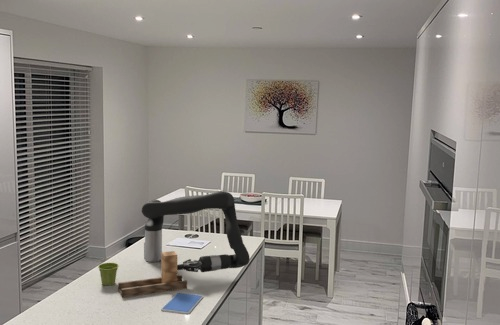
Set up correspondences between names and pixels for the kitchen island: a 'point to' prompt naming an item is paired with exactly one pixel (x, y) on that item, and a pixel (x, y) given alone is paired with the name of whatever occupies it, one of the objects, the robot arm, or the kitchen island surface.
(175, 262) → the block
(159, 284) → the chute
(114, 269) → the plant pot
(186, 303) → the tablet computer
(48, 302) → the kitchen island surface
